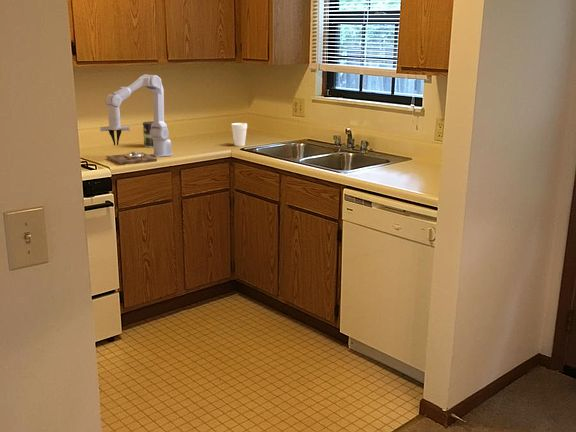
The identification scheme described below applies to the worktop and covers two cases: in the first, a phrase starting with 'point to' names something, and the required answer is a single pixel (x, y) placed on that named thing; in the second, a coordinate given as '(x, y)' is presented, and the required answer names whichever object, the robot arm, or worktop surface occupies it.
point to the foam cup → (239, 133)
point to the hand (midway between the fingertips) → (116, 144)
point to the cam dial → (133, 155)
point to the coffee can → (147, 134)
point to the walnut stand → (123, 160)
